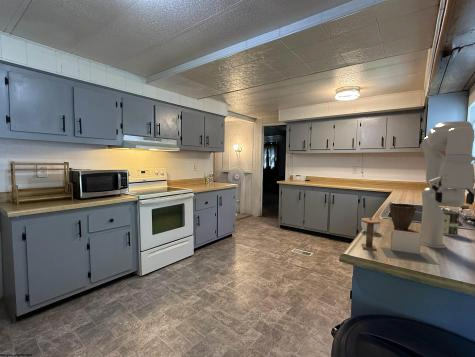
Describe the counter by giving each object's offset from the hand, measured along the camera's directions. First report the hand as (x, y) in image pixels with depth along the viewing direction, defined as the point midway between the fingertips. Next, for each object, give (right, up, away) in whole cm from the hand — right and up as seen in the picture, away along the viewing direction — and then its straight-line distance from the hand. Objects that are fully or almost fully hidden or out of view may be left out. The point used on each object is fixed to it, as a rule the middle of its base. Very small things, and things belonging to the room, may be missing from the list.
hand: (453, 202), depth 93 cm
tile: (-2, -27, +24) cm, 36 cm away
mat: (-4, -28, +20) cm, 34 cm away
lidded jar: (-1, -25, +58) cm, 63 cm away
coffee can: (+49, -26, +58) cm, 80 cm away
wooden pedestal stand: (-18, -27, +29) cm, 43 cm away
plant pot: (+26, -25, +67) cm, 76 cm away
